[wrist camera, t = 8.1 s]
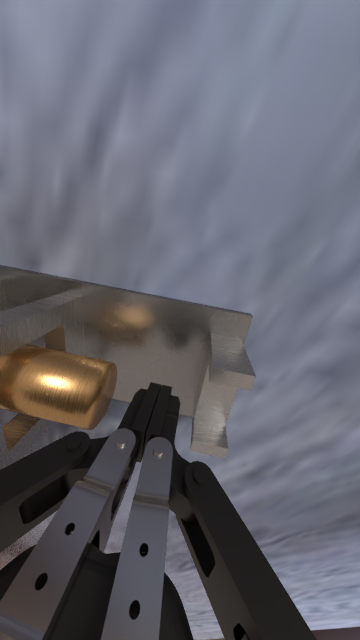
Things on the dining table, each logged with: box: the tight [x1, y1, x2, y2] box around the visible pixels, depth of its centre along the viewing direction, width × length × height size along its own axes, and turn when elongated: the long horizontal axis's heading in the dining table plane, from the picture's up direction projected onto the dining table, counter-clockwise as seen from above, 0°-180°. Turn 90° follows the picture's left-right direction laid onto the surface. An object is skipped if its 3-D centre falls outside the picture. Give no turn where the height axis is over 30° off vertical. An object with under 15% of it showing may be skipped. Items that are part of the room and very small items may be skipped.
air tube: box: [0, 344, 117, 430], centre depth 12 cm, size 13×4×4 cm, turn 81°
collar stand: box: [0, 265, 256, 470], centre depth 12 cm, size 22×11×10 cm, turn 81°
